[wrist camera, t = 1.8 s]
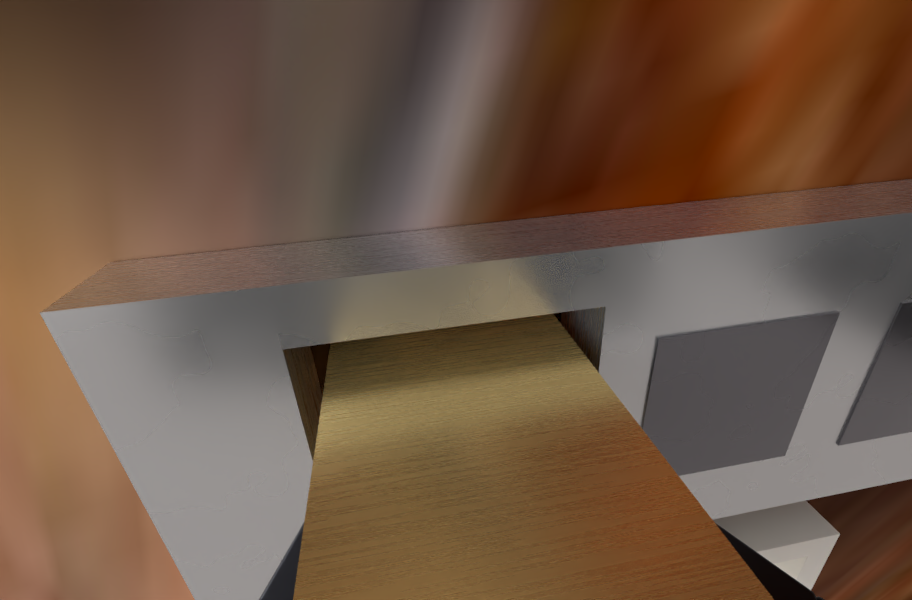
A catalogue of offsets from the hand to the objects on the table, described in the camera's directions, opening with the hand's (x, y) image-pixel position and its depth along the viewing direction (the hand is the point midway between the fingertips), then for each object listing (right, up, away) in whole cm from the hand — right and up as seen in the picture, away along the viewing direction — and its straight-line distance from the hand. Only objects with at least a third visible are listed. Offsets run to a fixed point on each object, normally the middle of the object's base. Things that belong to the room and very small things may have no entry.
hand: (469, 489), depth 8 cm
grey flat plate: (+3, +2, +3) cm, 5 cm away
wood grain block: (-1, +1, +3) cm, 3 cm away
